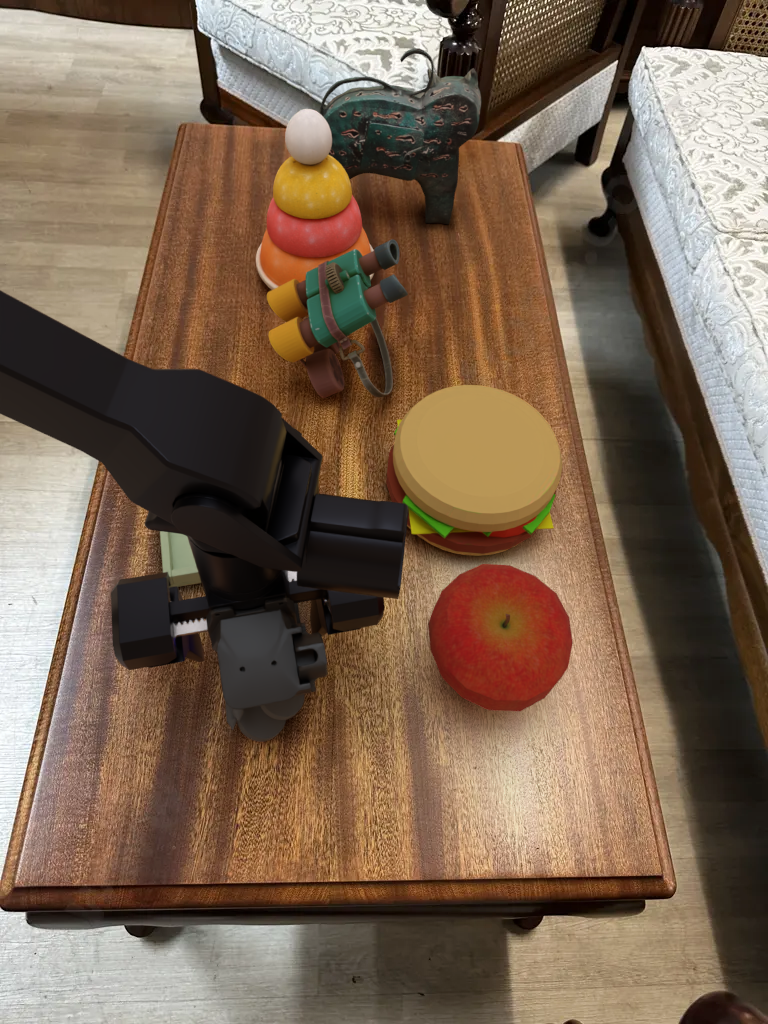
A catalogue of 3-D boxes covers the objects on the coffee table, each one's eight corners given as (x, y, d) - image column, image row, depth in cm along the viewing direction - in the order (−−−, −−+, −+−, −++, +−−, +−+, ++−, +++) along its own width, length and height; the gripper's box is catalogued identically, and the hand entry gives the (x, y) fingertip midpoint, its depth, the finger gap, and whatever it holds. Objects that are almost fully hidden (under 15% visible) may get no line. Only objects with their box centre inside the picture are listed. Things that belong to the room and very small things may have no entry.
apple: (522, 758, 58) (565, 713, 48) (398, 706, 59) (414, 652, 49) (556, 639, 64) (601, 577, 53) (442, 594, 65) (465, 526, 55)
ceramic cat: (460, 205, 96) (490, 43, 79) (462, 236, 93) (494, 74, 76) (312, 193, 95) (310, 27, 78) (308, 224, 92) (305, 57, 75)
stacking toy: (373, 237, 91) (385, 77, 75) (376, 316, 84) (390, 157, 67) (260, 232, 90) (247, 69, 74) (253, 311, 83) (236, 149, 66)
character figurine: (227, 753, 57) (218, 584, 65) (319, 737, 57) (299, 571, 65) (206, 725, 50) (199, 541, 58) (310, 707, 51) (289, 527, 59)
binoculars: (330, 346, 85) (256, 257, 73) (438, 296, 81) (376, 192, 69) (340, 439, 78) (259, 357, 66) (459, 390, 73) (394, 292, 61)
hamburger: (377, 430, 75) (383, 377, 68) (529, 426, 77) (549, 374, 70) (392, 569, 66) (400, 524, 59) (563, 561, 68) (589, 516, 61)
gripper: (89, 705, 40) (146, 769, 53) (413, 643, 43) (391, 718, 56) (86, 535, 46) (139, 631, 59) (373, 492, 49) (362, 592, 62)
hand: (258, 645), depth 59 cm, fingers open, 9 cm apart
